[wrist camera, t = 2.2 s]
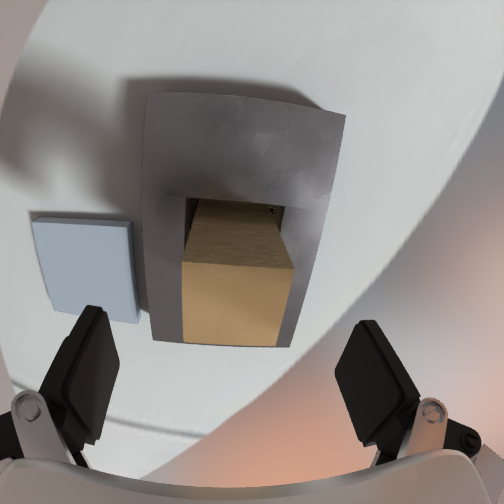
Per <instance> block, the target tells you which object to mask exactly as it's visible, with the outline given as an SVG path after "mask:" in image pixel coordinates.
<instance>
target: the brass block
mask: <svg viewBox="0 0 504 504" xmlns="http://www.w3.org/2000/svg"><path fill="white" fill-rule="evenodd" d="M294 271H295V268H294V266H293V264H292V261H291V259H290V256H289V254H288V251H287V249H286V247H285V244H284V242H283V239H282V237H281V235H280V232H279V230H278V227H277V225H276V223H275V220H274V218H273V216H272V213H271V211H270V209H269V206H268V204H261V203H251V202H241V201H229V200H217V199H204V198H200V200H199V203H198V206H197V210H196V213H195V216H194V220H193V223H192V226H191V230H190V233H189V237H188V240H187V244H186V248H185V251H184V255H183V259H182V316H183V340H184V342H190V343H203V344H220V345H243V346H276V342H277V338H278V334H279V331H280V327H281V323H282V319H283V315H284V312H285V308H286V304H287V300H288V296H289V292H290V288H291V284H292V279H293V275H294Z"/></svg>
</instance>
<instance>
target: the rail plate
mask: <svg viewBox="0 0 504 504" xmlns="http://www.w3.org/2000/svg"><path fill="white" fill-rule="evenodd" d="M345 118H346V115H343V114H339V113H335V112H331V111H326V110H322V109H318V108H313V107H308V106H303V105H298V104H293V103H287V102H281V101H275V100H269V99H262V98H254V97H246V96H237V95H227V94H214V93H197V92H147V97H146V107H145V119H144V133H143V152H142V232H143V251H144V266H145V278H146V289H147V298H148V307H149V315H150V323H151V330H152V337H153V340H156V341H165V342H175V343H186V344H199V345H214V346H234V347H290V344H291V341H292V338H293V334H294V331H295V328H296V325H297V321H298V318H299V315H300V311H301V308H302V305H303V301H304V298H305V294H306V291H307V287H308V284H309V280H310V276H311V273H312V269H313V265H314V262H315V258H316V254H317V250H318V246H319V242H320V238H321V234H322V230H323V226H324V222H325V218H326V213H327V209H328V205H329V200H330V196H331V191H332V186H333V182H334V177H335V172H336V167H337V162H338V157H339V152H340V146H341V141H342V136H343V130H344V124H345ZM191 198H204V199H217V200H229V201H241V202H251V203H261V204H271V205H275V210H274V216H273V218H274V220H275V223H276V225H277V227H278V230H279V232H280V235H281V237H282V239H283V242H284V244H285V247H286V249H287V251H288V254H289V256H290V259H291V261H292V264H293V266H294V268H295V271H294V275H293V279H292V284H291V288H290V292H289V296H288V300H287V304H286V308H285V312H284V315H283V319H282V323H281V327H280V331H279V334H278V338H277V342H276V346H243V345H220V344H203V343H190V342H184V340H183V316H182V259H183V255H184V251H185V248H186V244H187V240H188V237H189V227H190V205H191Z"/></svg>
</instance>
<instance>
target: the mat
mask: <svg viewBox="0 0 504 504" xmlns="http://www.w3.org/2000/svg"><path fill="white" fill-rule="evenodd" d="M32 228H33V233H34V239H35V243H36V248H37V252H38V257H39V261H40V265H41V269H42V273H43V276H44V280H45V283H46V287H47V290H48V293H49V296H50V300H51V303H52V306H53V309H54V311H58V312H64V313H69V314H74V315H81V313H82V312H83V310H84V308H85V307H86V305H93V306H100V307H102V308H103V311H106V312H107V314H108V319H109V320H111V321H118V322H125V323H133V324H138V323H139V320H140V317H141V314H140V307H139V300H138V292H137V284H136V275H135V265H134V253H133V240H132V222H131V221H118V220H99V219H78V218H53V217H38V218H36V219H35V220H34V221H32Z"/></svg>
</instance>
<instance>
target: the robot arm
mask: <svg viewBox="0 0 504 504" xmlns="http://www.w3.org/2000/svg"><path fill="white" fill-rule="evenodd" d="M119 366H120V362H119V357H118V354H117V350H116V347H115V343H114V339H113V335H112V331H111V327H110V323H109V319H108V314H107V312H106V311H103V308H102V307H100V306H93V305H86V307H85V308H84V310H83V312H82V313H81V315H80V317H79V318H78V320H77V322H76V324H75V326H74V327H73V329H72V331H71V333H70V335H69V336H67V337H66V338H65V339H64V341H63V343H62V344H61V346H60V348H59V350H58V352H57V354H56V356H55V358H54V360H53V362H52V364H51V366H50V368H49V370H48V372H47V374H46V376H45V378H44V381H43V383H42V385H41V387H40V389H39V392H36V391H33V390H25V391H22V392H20V393H18V394H17V395H16V396H15V397H14V399H13V401H12V404H11V411H10V412H7V413H5V414H2V415H0V504H496V503H497V501H498V499H499V497H500V494H501V492H502V490H503V488H504V459H502V458H501V457H500V456H499V455H497V454H496V453H495V452H494V451H492V450H491V449H490V448H489V447H488V446H486V445H485V444H483V445H482V446H481V438H480V436H479V434H478V433H477V432H476V431H475V430H474V429H472V428H470V427H467V426H465V425H462V424H460V423H458V422H456V421H453V420H451V419H449V418H448V413H447V409H446V408H445V406H444V405H443V403H441V402H440V401H439V400H437V399H435V398H425V399H423V400H422V401H420V399H419V397H420V394H419V392H418V390H417V388H416V387H415V385H414V383H413V381H412V380H411V378H410V376H409V374H408V373H407V371H406V369H405V367H404V366H403V364H402V362H401V361H400V359H399V357H398V356H397V354H396V353H395V351H394V349H393V348H392V346H391V344H390V343H389V341H388V339H387V338H386V336H385V335H384V333H383V332H382V330H381V328H380V327H379V325H378V324H377V322H376V321H375V320H361V321H360V322H359V323H358V324H356V325H355V327H354V329H353V331H352V334H351V336H350V338H349V340H348V342H347V345H346V347H345V349H344V351H343V353H342V355H341V357H340V360H339V362H338V364H337V366H336V368H335V378H336V380H337V383H338V385H339V388H340V391H341V393H342V396H343V399H344V401H345V404H346V407H347V410H348V412H349V415H350V418H351V421H352V423H353V426H354V428H355V432H356V435H357V438H358V440H359V441H360V442H362V443H363V446H364V447H368V446H371V445H375V444H376V445H377V448H378V450H377V452H376V455H375V457H374V459H373V461H372V464H371V466H370V468H367V469H364V470H360V471H356V472H352V473H348V474H344V475H339V476H335V477H330V478H325V479H320V480H314V481H308V482H301V483H295V484H287V485H276V486H265V487H247V488H246V487H245V488H213V487H193V486H180V485H171V484H163V483H155V482H149V481H143V480H137V479H132V478H127V477H122V476H117V475H113V474H108V473H104V472H100V471H96V470H93V469H92V467H91V465H90V464H89V462H88V460H87V458H86V456H85V455H84V453H83V451H82V450H83V448H84V444H85V443H87V444H90V445H95V441H96V440H99V439H100V436H101V432H102V428H103V424H104V420H105V416H106V412H107V409H108V405H109V401H110V398H111V394H112V391H113V387H114V384H115V380H116V377H117V374H118V371H119Z"/></svg>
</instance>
